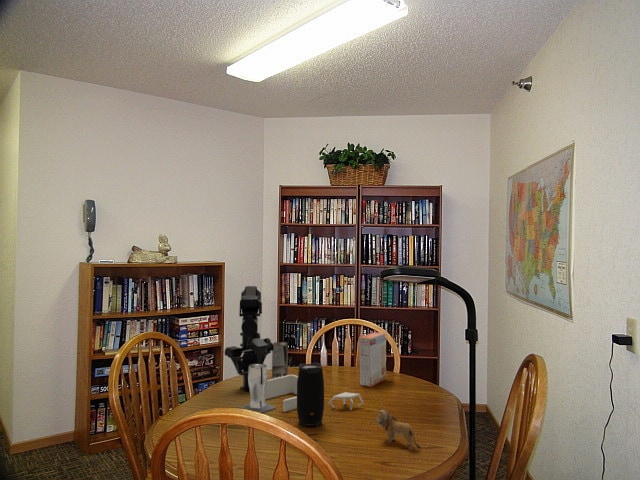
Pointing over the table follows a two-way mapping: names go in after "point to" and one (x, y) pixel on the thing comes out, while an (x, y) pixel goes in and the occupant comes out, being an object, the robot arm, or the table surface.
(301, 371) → the portable speaker
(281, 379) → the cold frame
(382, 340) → the cracker box
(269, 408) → the slate mat
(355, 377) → the table surface
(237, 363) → the robot arm
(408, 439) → the lion figurine
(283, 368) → the coffee box
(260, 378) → the beer glass
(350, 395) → the white legged piece
